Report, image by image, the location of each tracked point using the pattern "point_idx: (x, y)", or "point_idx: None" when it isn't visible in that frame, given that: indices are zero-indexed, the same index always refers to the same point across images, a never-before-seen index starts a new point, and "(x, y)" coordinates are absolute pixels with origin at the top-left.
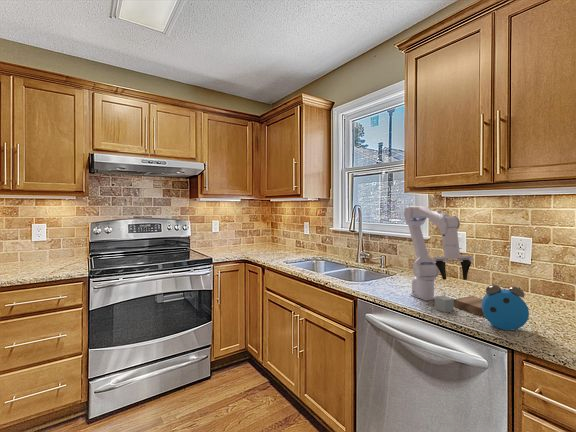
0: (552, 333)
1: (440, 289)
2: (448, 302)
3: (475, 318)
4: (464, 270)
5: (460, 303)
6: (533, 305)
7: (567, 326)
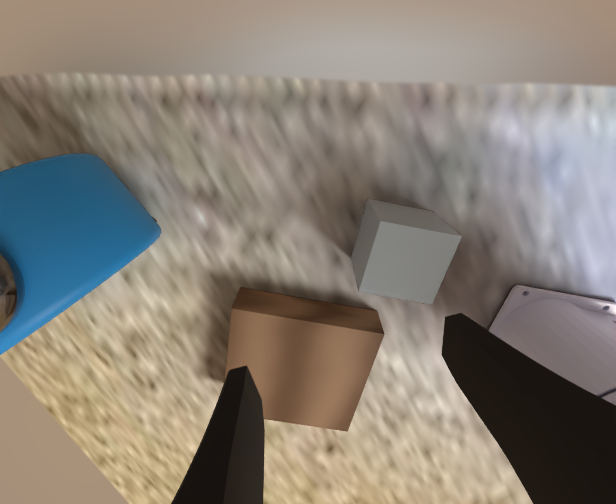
0: None
1: None
2: (368, 243)
3: (233, 235)
4: (193, 492)
5: (344, 320)
6: None
7: (44, 395)
